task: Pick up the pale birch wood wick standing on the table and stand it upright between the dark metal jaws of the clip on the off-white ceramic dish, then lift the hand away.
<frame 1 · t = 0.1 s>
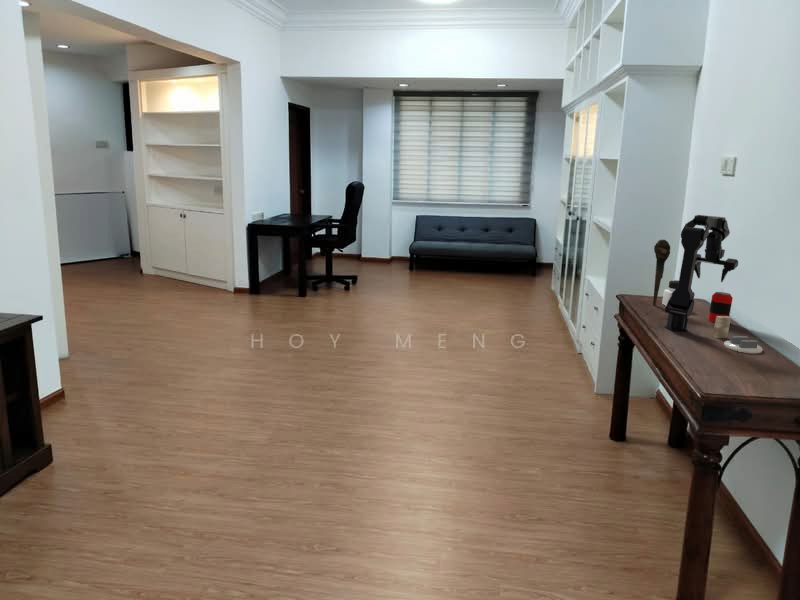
hand: (710, 280, 257), 15 cm above the table, tool pointing down, fingers open, 9 cm apart
soda can: (717, 321, 251), on the table
medicine bottle: (672, 307, 273), on the table
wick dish: (742, 348, 215), on the table
decorative torch: (653, 305, 274), on the table
wood wick: (719, 337, 228), on the table
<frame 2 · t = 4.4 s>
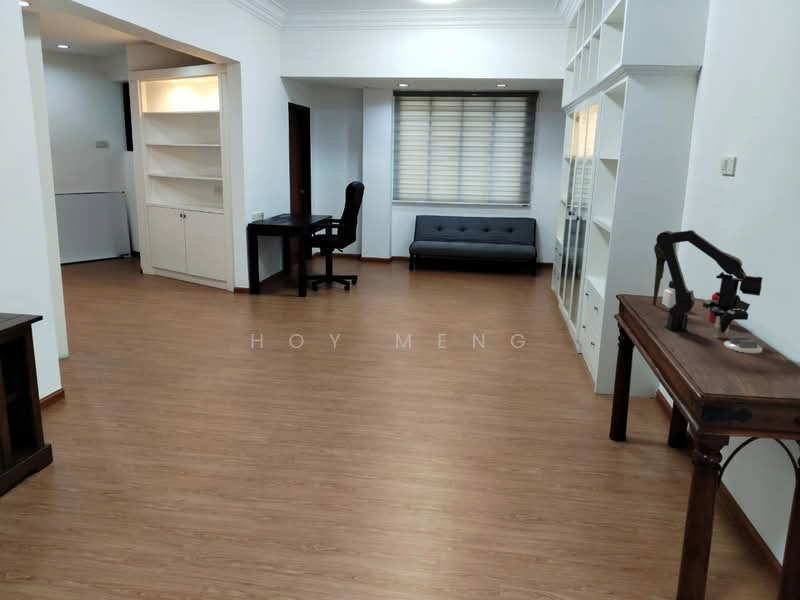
hand: (720, 331, 227), 2 cm above the table, tool pointing down, fingers closed on wood wick, 2 cm apart
wood wick: (719, 337, 228), on the table, touching gripper
everything else where it was.
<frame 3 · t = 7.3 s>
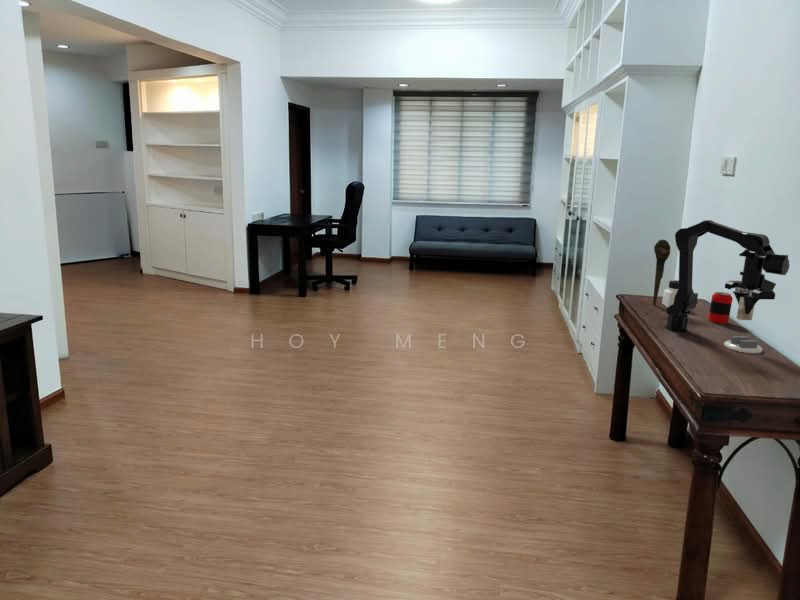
hand: (745, 313, 215), 12 cm above the table, tool pointing down, fingers closed on wood wick
wood wick: (744, 319, 215), point 10 cm above the table, touching gripper
everything else where it was.
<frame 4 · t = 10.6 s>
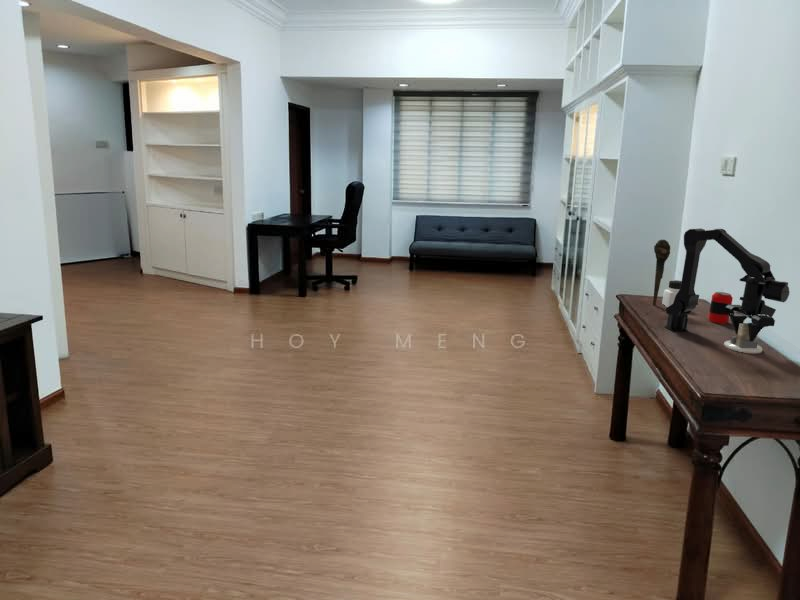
hand: (744, 338, 214), 4 cm above the table, tool pointing down, fingers open, 7 cm apart
wood wick: (743, 345, 215), point 1 cm above the table, touching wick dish
everything else where it was.
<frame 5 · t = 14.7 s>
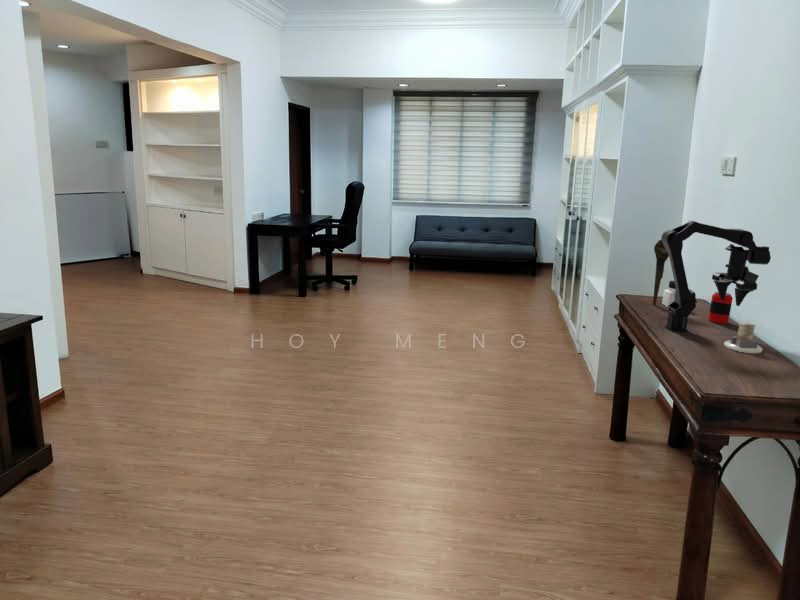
hand: (730, 302, 231), 12 cm above the table, tool pointing down, fingers open, 9 cm apart
nothing on the table moved.
at the end: wood wick 0.1 cm off-centre on the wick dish, point 1.0 cm above the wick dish's base; wood wick tilted 0°; the gripper is holding nothing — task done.
